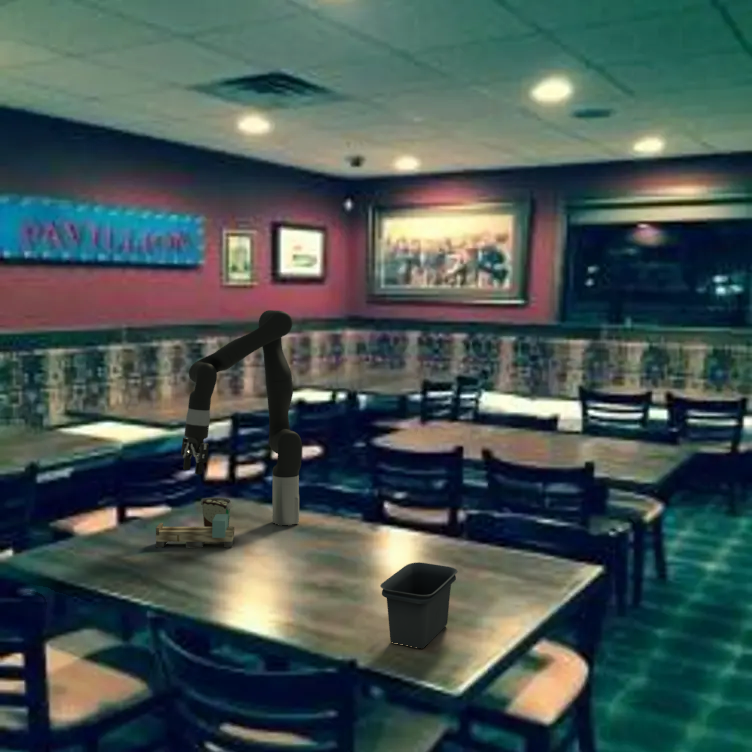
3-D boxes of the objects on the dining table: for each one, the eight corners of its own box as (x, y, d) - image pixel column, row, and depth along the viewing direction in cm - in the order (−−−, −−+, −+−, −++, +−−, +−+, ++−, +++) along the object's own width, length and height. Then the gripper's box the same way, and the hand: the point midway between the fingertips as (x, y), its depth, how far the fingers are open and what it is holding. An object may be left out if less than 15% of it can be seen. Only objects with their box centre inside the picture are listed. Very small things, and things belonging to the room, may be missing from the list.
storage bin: (428, 657, 191) (430, 595, 190) (366, 644, 198) (367, 585, 197) (460, 624, 211) (461, 568, 209) (402, 613, 217) (403, 559, 216)
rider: (228, 530, 278) (228, 513, 277) (224, 537, 269) (224, 521, 269) (216, 530, 278) (216, 513, 277) (212, 537, 269) (212, 521, 268)
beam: (234, 542, 277) (234, 522, 277) (231, 548, 271) (231, 528, 270) (160, 541, 276) (160, 522, 276) (155, 547, 270) (155, 528, 269)
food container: (239, 528, 293) (239, 500, 292) (227, 532, 288) (227, 504, 287) (213, 523, 299) (213, 495, 298) (201, 527, 294) (200, 498, 293)
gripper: (218, 426, 275) (212, 475, 276) (197, 420, 286) (192, 468, 287) (197, 425, 271) (191, 476, 271) (177, 419, 282) (172, 468, 282)
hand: (192, 472), depth 279 cm, fingers open, 8 cm apart
